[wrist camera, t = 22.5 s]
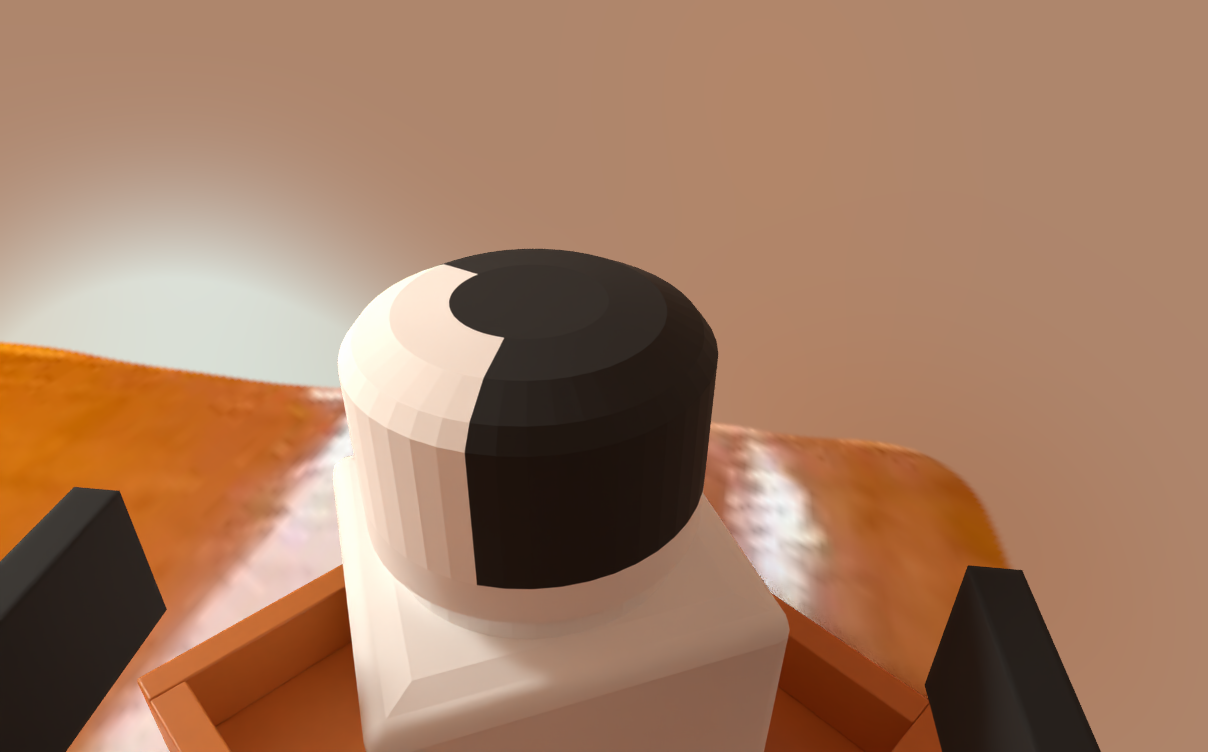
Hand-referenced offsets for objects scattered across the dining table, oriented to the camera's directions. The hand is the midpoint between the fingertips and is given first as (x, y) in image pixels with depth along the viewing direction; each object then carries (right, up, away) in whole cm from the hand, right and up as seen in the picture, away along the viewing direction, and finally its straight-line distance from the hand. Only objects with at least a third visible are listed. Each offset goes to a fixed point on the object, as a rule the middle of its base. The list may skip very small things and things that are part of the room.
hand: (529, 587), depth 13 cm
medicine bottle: (0, -6, +6) cm, 9 cm away
